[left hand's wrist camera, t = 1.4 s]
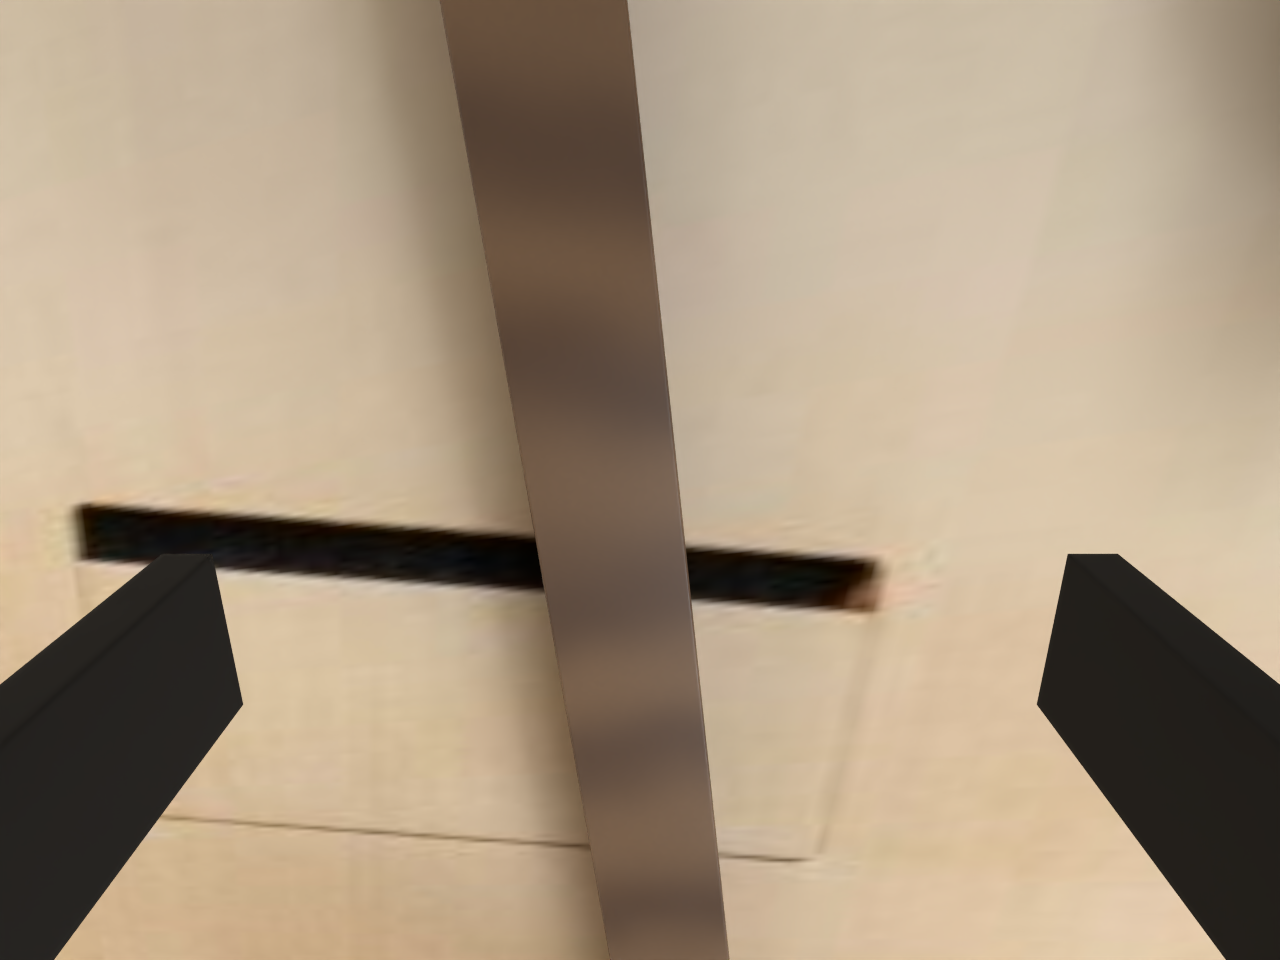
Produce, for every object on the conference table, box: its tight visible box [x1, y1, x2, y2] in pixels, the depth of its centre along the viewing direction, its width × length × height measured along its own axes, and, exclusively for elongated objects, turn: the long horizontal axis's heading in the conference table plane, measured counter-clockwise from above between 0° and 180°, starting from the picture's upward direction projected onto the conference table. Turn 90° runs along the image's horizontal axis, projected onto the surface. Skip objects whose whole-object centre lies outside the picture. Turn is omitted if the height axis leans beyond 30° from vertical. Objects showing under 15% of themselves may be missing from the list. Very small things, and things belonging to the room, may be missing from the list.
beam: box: [440, 0, 729, 960], centre depth 33 cm, size 70×4×7 cm, turn 7°
